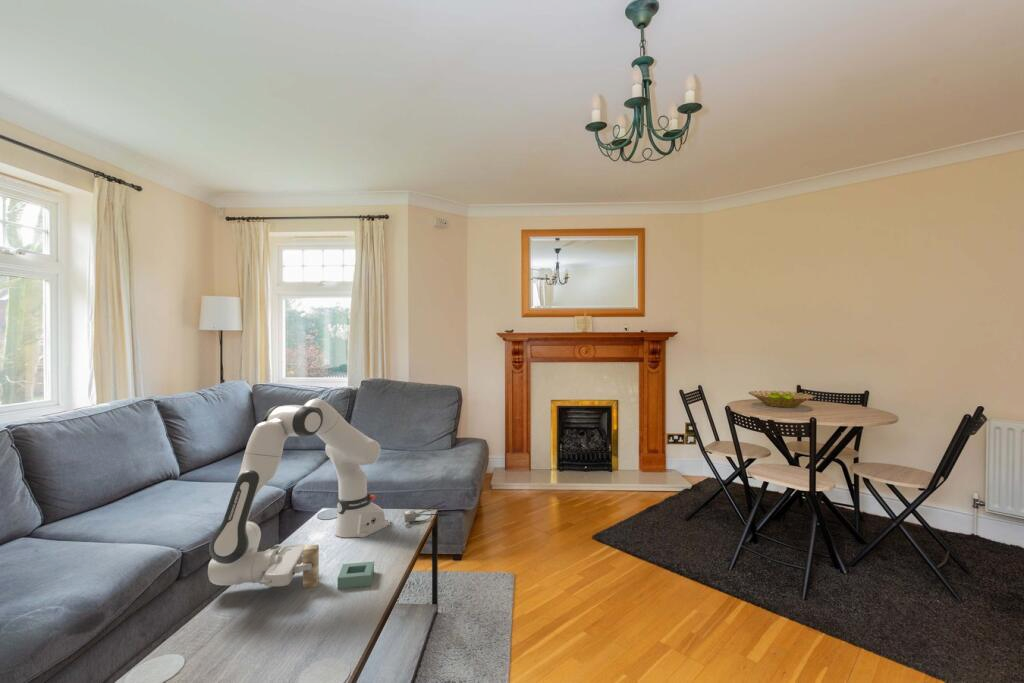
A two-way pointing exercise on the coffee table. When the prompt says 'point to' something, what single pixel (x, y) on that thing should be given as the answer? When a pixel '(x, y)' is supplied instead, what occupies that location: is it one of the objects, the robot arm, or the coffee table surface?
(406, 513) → the reed diffuser
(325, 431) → the robot arm
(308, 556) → the light wooden block
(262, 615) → the coffee table surface
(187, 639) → the coffee table surface
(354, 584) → the sage square frame
